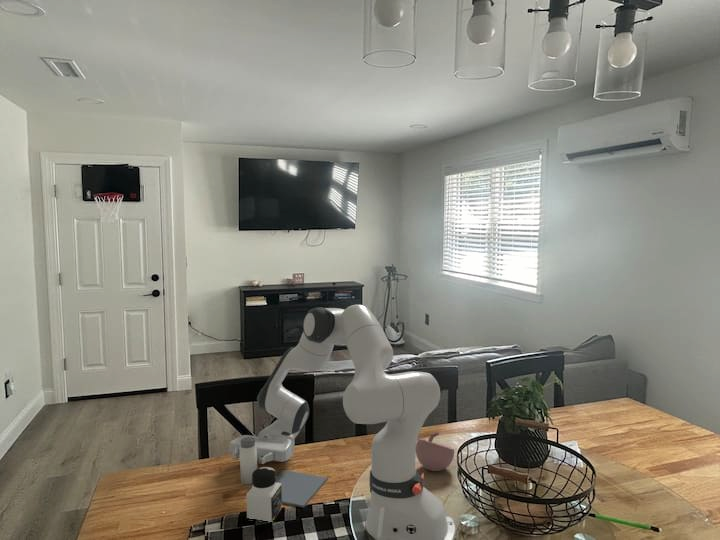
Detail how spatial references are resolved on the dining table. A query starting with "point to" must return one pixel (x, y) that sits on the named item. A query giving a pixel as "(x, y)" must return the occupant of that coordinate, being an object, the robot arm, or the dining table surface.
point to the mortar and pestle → (434, 454)
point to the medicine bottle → (264, 495)
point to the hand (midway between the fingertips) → (247, 459)
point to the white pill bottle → (247, 459)
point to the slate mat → (299, 487)
